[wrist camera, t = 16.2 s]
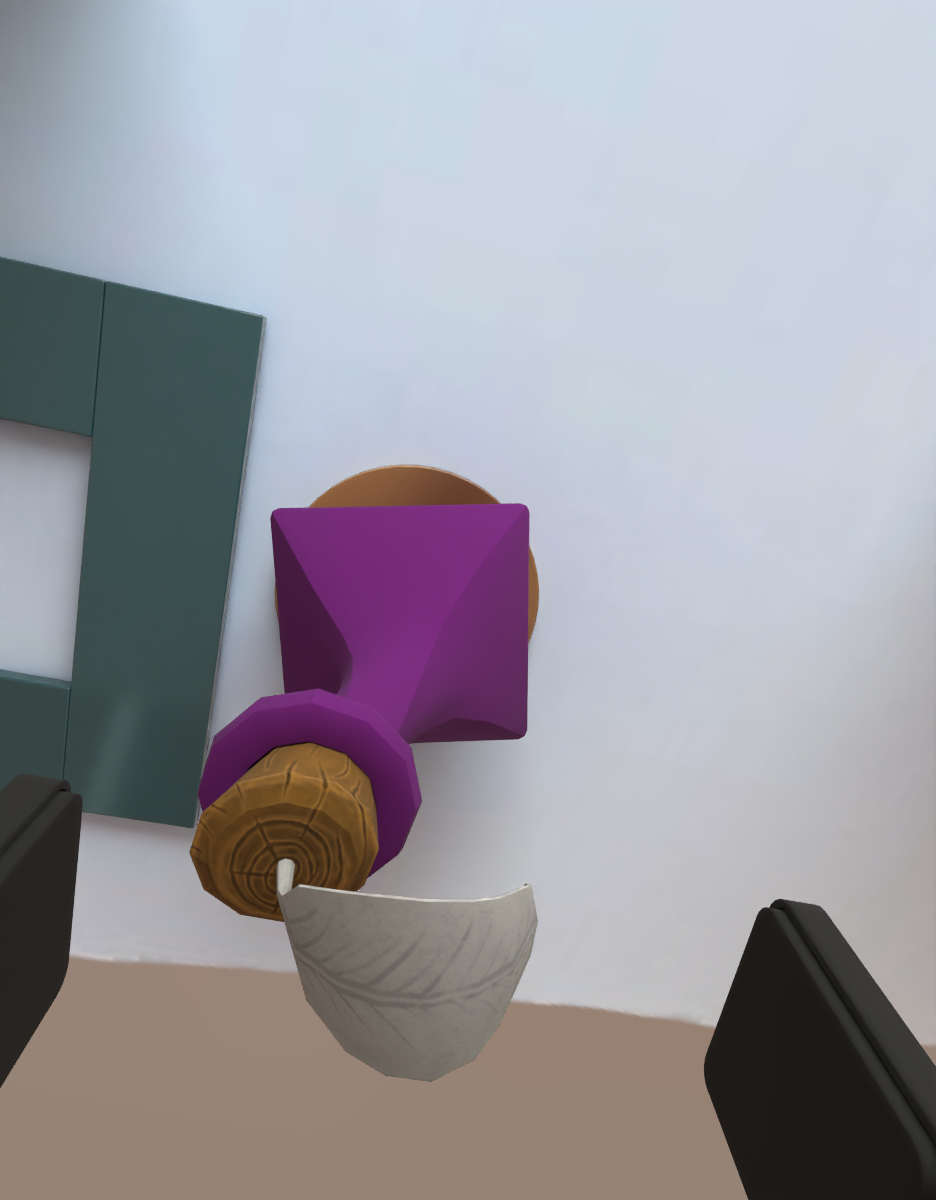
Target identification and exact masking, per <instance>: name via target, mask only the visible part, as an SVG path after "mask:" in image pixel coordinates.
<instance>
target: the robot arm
mask: <svg viewBox="0 0 936 1200" xmlns="http://www.w3.org/2000/svg"><path fill="white" fill-rule="evenodd" d="M82 804H83V800H82V796H81V795H80V794H76V793H71V788H70V784H69V782H68V781H67V780H62V779H56V778H50V777H44V776H38V775H31V774H25V773H23V774H19V775H18V776H16V777H15V778H14V779H13V780H12V781H11V782H10V783H9V784H8V785H7V786H6V787H5V788H3V789H2V790H1V791H0V1087H1V1086H2V1084H3V1083H4V1081H5V1079H6V1078H7V1076H8V1075H9V1073H10V1071H11V1069H12V1068H13V1066H14V1065H15V1063H16V1061H17V1060H18V1058H19V1057H20V1055H21V1053H22V1052H23V1050H24V1048H25V1047H26V1045H27V1043H28V1042H29V1040H30V1038H31V1037H32V1035H33V1034H34V1032H35V1030H36V1029H37V1027H38V1026H39V1024H40V1022H41V1021H42V1019H43V1017H44V1016H45V1014H46V1012H47V1011H48V1009H49V1008H50V1006H51V1004H52V1003H53V1001H54V999H55V998H56V996H57V994H58V992H59V991H60V988H61V986H62V984H63V981H64V978H65V975H66V971H67V968H68V962H69V951H70V940H71V929H72V918H73V907H74V895H75V884H76V873H77V862H78V851H79V839H80V828H81V817H82ZM704 1076H705V1083H706V1086H707V1089H708V1092H709V1095H710V1098H711V1100H712V1103H713V1106H714V1108H715V1111H716V1113H717V1116H718V1119H719V1122H720V1124H721V1127H722V1130H723V1132H724V1135H725V1138H726V1140H727V1143H728V1146H729V1149H730V1151H731V1154H732V1157H733V1159H734V1162H735V1165H736V1167H737V1170H738V1173H739V1176H740V1178H741V1181H742V1183H743V1186H744V1189H745V1192H746V1194H747V1197H748V1199H749V1200H936V1066H935V1065H934V1064H933V1062H932V1061H931V1059H930V1058H929V1056H928V1055H927V1054H926V1052H925V1051H924V1049H923V1048H922V1047H921V1045H920V1044H919V1042H918V1041H917V1040H916V1038H915V1037H914V1035H913V1034H912V1033H911V1031H910V1030H909V1028H908V1027H907V1026H906V1024H905V1023H904V1021H903V1020H902V1019H901V1017H900V1016H899V1014H898V1013H897V1011H896V1010H895V1009H894V1007H893V1006H892V1004H891V1003H890V1002H889V1000H888V999H887V997H886V996H885V995H884V993H883V992H882V990H881V989H880V988H879V986H878V985H877V983H876V982H875V981H874V979H873V978H872V976H871V975H870V974H869V972H868V971H867V969H866V968H865V967H864V965H863V964H862V962H861V961H860V960H859V958H858V957H857V955H856V954H855V952H854V951H853V950H852V948H851V947H850V945H849V944H848V943H847V941H846V940H845V938H844V937H843V936H842V934H841V933H840V931H839V930H838V929H837V927H836V926H835V924H834V923H833V922H832V920H831V919H830V917H829V916H828V915H827V913H826V912H825V911H824V910H823V909H822V908H821V907H820V906H817V905H813V904H807V903H801V902H795V901H789V900H783V899H778V900H775V901H774V902H773V903H772V904H771V906H770V908H767V907H766V908H762V909H761V910H760V911H759V913H758V915H757V917H756V920H755V923H754V925H753V928H752V931H751V934H750V936H749V939H748V942H747V945H746V947H745V950H744V953H743V955H742V958H741V961H740V964H739V966H738V969H737V972H736V974H735V977H734V980H733V983H732V985H731V988H730V991H729V994H728V996H727V999H726V1002H725V1004H724V1007H723V1010H722V1013H721V1015H720V1018H719V1021H718V1023H717V1026H716V1029H715V1032H714V1035H713V1037H712V1040H711V1043H710V1045H709V1048H708V1051H707V1053H706V1057H705V1063H704Z"/></svg>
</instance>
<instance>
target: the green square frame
mask: <svg viewBox="0 0 936 1200" xmlns="http://www.w3.org/2000/svg"><path fill="white" fill-rule="evenodd" d="M265 326H266V317H265V316H262V315H257V314H253V313H248V312H244V311H240V310H235V309H231V308H226V307H222V306H217V305H213V304H208V303H204V302H199V301H195V300H190V299H186V298H181V297H177V296H172V295H168V294H164V293H159V292H155V291H150V290H146V289H141V288H137V287H132V286H128V285H123V284H119V283H114V282H110V281H105V280H101V279H96V278H92V277H87V276H83V275H79V274H74V273H70V272H65V271H61V270H56V269H52V268H47V267H43V266H38V265H34V264H29V263H25V262H20V261H16V260H11V259H7V258H3V257H0V419H4V420H9V421H14V422H19V423H24V424H29V425H34V426H39V427H44V428H49V429H54V430H59V431H64V432H68V433H73V434H78V435H83V436H88V437H92V448H91V459H90V471H89V483H88V495H87V506H86V518H85V530H84V541H83V553H82V565H81V577H80V588H79V600H78V612H77V624H76V635H75V647H74V659H73V671H72V682H70V681H64V680H58V679H52V678H46V677H40V676H34V675H28V674H23V673H17V672H11V671H5V670H0V791H1V790H2V789H3V788H5V787H6V786H7V785H8V784H9V783H10V782H11V781H12V780H13V779H14V778H15V777H16V776H18V775H19V774H23V773H25V774H31V775H38V776H44V777H50V778H56V779H62V780H67V781H68V782H69V784H70V788H71V793H76V794H80V795H81V796H82V800H83V804H82V812H89V813H95V814H102V815H108V816H115V817H121V818H128V819H134V820H141V821H148V822H154V823H161V824H167V825H174V826H180V827H187V828H194V826H195V824H196V822H197V820H198V815H199V807H200V801H199V798H198V788H199V784H200V781H201V777H202V774H203V771H204V768H205V764H206V756H207V749H208V742H209V734H210V727H211V720H212V713H213V705H214V698H215V691H216V683H217V676H218V669H219V662H220V654H221V647H222V640H223V632H224V625H225V618H226V610H227V603H228V596H229V589H230V581H231V574H232V567H233V559H234V552H235V545H236V538H237V530H238V523H239V516H240V508H241V501H242V494H243V486H244V479H245V472H246V465H247V457H248V450H249V443H250V435H251V428H252V421H253V414H254V406H255V399H256V392H257V384H258V377H259V370H260V363H261V355H262V348H263V341H264V333H265Z"/></svg>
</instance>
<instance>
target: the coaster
mask: <svg viewBox="0 0 936 1200" xmlns="http://www.w3.org/2000/svg"><path fill="white" fill-rule="evenodd" d="M469 504H501V503H500V502H499V501H498V500H497V499H496V498H495V497H493V496H492V495H491V494H489V493H488V492H487V491H486V490H484V489H483V488H482V487H480V486H478V485H477V484H475V483H473V482H471V481H470V480H468V479H466V478H464V477H461V476H459V475H457V474H454V473H452V472H449V471H445V470H441V469H438V468H434V467H427V466H420V465H393V466H385V467H379V468H375V469H371V470H367V471H364V472H361V473H359V474H356V475H354V476H351V477H349V478H347V479H345V480H343V481H341V482H340V483H338V484H336V485H335V486H333V487H331V488H330V489H329V490H327V491H326V492H325V493H323V494H322V495H321V496H320V497H318V498H317V499H316V500H315V501H314V502H313V503H312V504H311V505H310V506H309V507H308V508H319V507H369V506H419V505H469ZM538 602H539V585H538V575H537V570H536V565H535V561H534V557H533V554H532V552H531V549H530V547H529V594H528V642H529V640H530V638H531V635H532V632H533V629H534V625H535V622H536V617H537V611H538ZM275 604H276V611H277V616H278V604H277V592H276V581H275ZM278 621H279V616H278Z"/></svg>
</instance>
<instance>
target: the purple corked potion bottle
mask: <svg viewBox="0 0 936 1200" xmlns="http://www.w3.org/2000/svg"><path fill="white" fill-rule="evenodd" d="M271 530H272V543H273V555H274V567H275V580H276V592H277V604H278V616H279V629H280V641H281V653H282V666H283V678H284V690H285V694H280V695H274V696H267V697H262V698H260V699H259V700H257V701H256V702H255V703H254V704H252V705H251V706H250V707H249V708H248V709H246V710H245V711H244V712H243V713H242V714H240V715H239V716H238V717H237V718H236V719H234V720H233V721H232V722H231V723H230V724H228V725H227V726H226V727H225V728H224V729H222V730H221V731H220V732H219V733H217V734H216V735H215V736H214V739H213V742H212V745H211V749H210V752H209V755H208V758H207V761H206V765H205V768H204V771H203V774H202V777H201V781H200V784H199V788H198V798H199V801H200V805H201V808H202V811H203V813H202V814H201V817H200V820H199V823H198V826H197V830H196V833H195V836H194V839H193V842H192V846H191V849H190V852H189V853H190V856H191V858H192V861H193V863H194V866H195V868H196V871H197V873H198V876H199V879H200V881H201V884H202V886H203V889H204V890H205V891H207V892H208V893H210V894H211V895H213V896H214V897H215V898H217V899H218V900H220V901H221V902H223V903H224V904H226V905H227V906H228V907H230V908H231V909H233V910H234V911H236V912H237V913H239V914H240V915H246V916H252V917H258V918H263V919H269V920H275V921H281V922H285V926H286V929H287V933H288V936H289V940H290V943H291V947H292V951H293V954H294V958H295V961H296V965H297V968H298V972H299V975H300V979H301V982H302V986H303V990H304V993H305V997H306V1000H307V1002H308V1003H309V1004H310V1005H311V1007H312V1008H313V1009H314V1011H315V1012H316V1013H317V1015H318V1016H319V1017H320V1018H321V1020H322V1021H323V1023H324V1024H325V1025H326V1026H327V1028H328V1029H329V1030H330V1032H331V1033H332V1034H333V1036H334V1037H335V1038H336V1039H337V1041H338V1042H339V1043H340V1045H341V1046H342V1047H343V1049H344V1050H345V1051H346V1052H347V1053H349V1054H350V1055H352V1056H354V1057H356V1058H357V1059H359V1060H360V1061H362V1062H364V1063H365V1064H367V1065H369V1066H370V1067H372V1068H374V1069H375V1070H377V1071H379V1072H380V1073H382V1074H384V1075H385V1076H392V1077H399V1078H408V1079H414V1080H422V1081H429V1082H432V1081H434V1080H436V1079H438V1078H440V1077H442V1076H444V1075H445V1074H447V1073H450V1072H451V1071H454V1070H455V1069H457V1068H459V1067H461V1066H463V1065H465V1064H467V1063H469V1062H471V1061H473V1060H475V1058H476V1057H477V1056H478V1054H479V1053H480V1051H481V1050H482V1049H483V1047H484V1046H485V1045H486V1043H487V1042H488V1041H489V1039H490V1038H491V1036H492V1035H493V1034H494V1032H495V1031H496V1029H497V1028H498V1027H499V1025H500V1023H501V1021H502V1019H503V1017H504V1014H505V1012H506V1010H507V1008H508V1005H509V1003H510V1001H511V998H512V996H513V994H514V992H515V989H516V987H517V985H518V983H519V980H520V978H521V976H522V973H523V971H524V969H525V967H526V964H527V962H528V960H529V958H530V955H531V951H532V946H533V941H534V936H535V932H536V927H537V922H538V920H537V915H536V909H535V903H534V898H533V892H532V886H531V885H530V884H525V885H524V886H523V887H521V888H518V889H516V890H513V891H511V892H508V893H506V894H503V895H501V896H498V897H492V898H483V899H473V900H471V899H421V898H411V897H401V896H390V895H380V894H371V893H362V892H356V891H357V890H359V889H360V888H361V887H363V886H364V884H365V882H366V879H367V878H368V877H370V876H371V875H372V874H374V873H375V872H376V871H377V870H379V869H380V868H381V867H383V866H384V865H385V864H387V863H388V862H389V861H391V860H392V859H393V858H394V857H396V856H397V855H398V854H399V852H400V851H401V850H402V848H403V847H404V844H405V842H406V839H407V837H408V834H409V832H410V829H411V827H412V825H413V822H414V820H415V817H416V815H417V812H418V810H419V807H420V805H421V803H422V799H421V793H420V788H419V783H418V778H417V773H416V768H415V764H414V759H413V754H412V749H411V747H410V745H409V744H410V743H425V742H453V741H481V740H509V739H519V738H522V737H524V736H525V734H526V731H527V694H528V594H529V510H528V508H527V506H525V505H523V504H520V503H519V504H469V505H419V506H369V507H319V508H279V509H276V510H274V511H273V512H272V515H271Z"/></svg>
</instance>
